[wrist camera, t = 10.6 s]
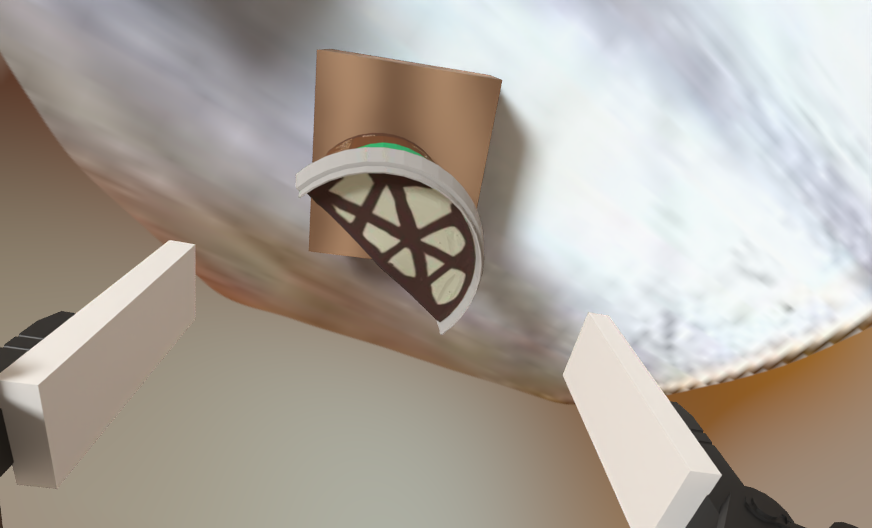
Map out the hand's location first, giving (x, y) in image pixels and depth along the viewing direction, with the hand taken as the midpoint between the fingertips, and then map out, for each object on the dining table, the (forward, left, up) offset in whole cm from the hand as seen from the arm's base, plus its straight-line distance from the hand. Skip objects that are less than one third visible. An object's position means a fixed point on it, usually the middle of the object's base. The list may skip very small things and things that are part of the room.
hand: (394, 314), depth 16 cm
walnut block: (+1, 0, -25) cm, 25 cm away
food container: (0, 0, -19) cm, 19 cm away
